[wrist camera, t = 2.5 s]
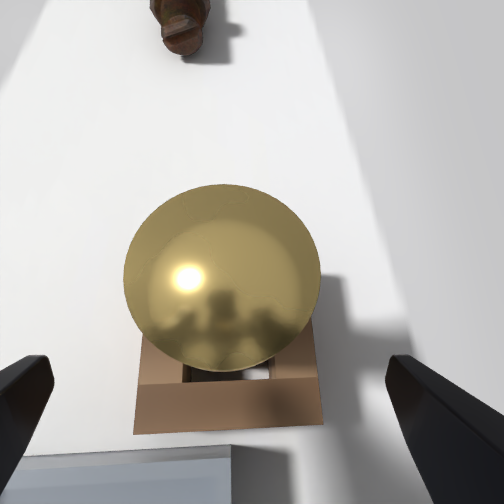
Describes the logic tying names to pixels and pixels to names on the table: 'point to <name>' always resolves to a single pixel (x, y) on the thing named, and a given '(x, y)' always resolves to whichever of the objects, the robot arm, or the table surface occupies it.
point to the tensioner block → (228, 393)
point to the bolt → (181, 23)
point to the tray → (124, 477)
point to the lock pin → (222, 277)
